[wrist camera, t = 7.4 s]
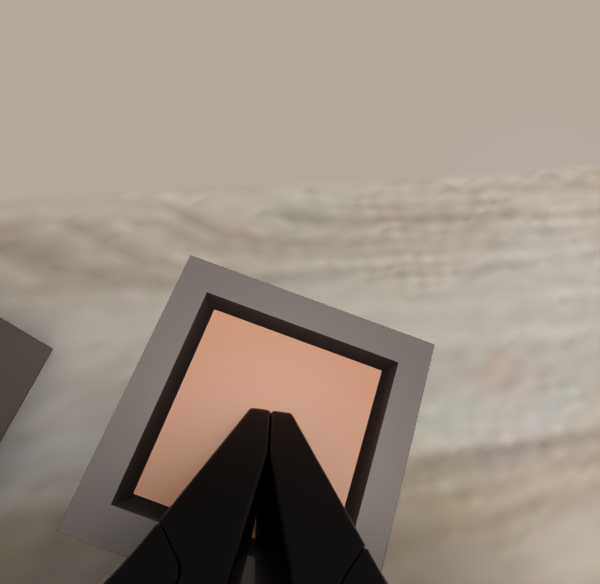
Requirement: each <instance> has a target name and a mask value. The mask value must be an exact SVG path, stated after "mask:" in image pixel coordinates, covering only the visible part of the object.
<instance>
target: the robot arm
mask: <svg viewBox="0 0 600 584" xmlns="http://www.w3.org/2000/svg"><path fill="white" fill-rule="evenodd" d="M255 520H256V525H255ZM254 525H255V584H388V583H387V582H386V580H385V578H384V576H383V575H382V573H381V571H380V570H379V568H378V566H377V565H376V563H375V561H374V559H373V557H372V556H371V554H370V552H369V550H368V549H367V548H365V543H364V542H363V540H362V538H361V536H360V534H359V533H358V531H357V529H356V527H355V526H354V524H353V522H352V520H351V518H350V517H349V515H348V513H347V511H346V509H345V508H344V506H343V504H342V502H341V501H340V499H339V497H338V495H337V493H336V492H335V490H334V488H333V486H332V484H331V483H330V481H329V479H328V477H327V476H326V474H325V472H324V470H323V468H322V467H321V465H320V463H319V461H318V459H317V458H316V456H315V454H314V452H313V451H312V449H311V447H310V445H309V443H308V442H307V440H306V438H305V436H304V435H303V433H302V431H301V429H300V427H299V426H298V424H297V422H296V420H295V418H294V417H293V415H292V414H291V413H287V412H280V411H272V412H271V413H270V411H269V410H265V409H258V408H250V409H249V410H248V411H247V413H246V414H245V415H244V416H243V418H242V419H241V420H240V421H239V422H238V424H237V425H236V426H235V427H234V429H233V430H232V431H231V432H230V434H229V435H228V436H227V437H226V438H225V440H224V441H223V442H222V443H221V445H220V446H219V447H218V448H217V450H216V451H215V452H214V453H213V455H212V456H211V457H210V458H209V459H208V461H207V462H206V463H205V464H204V466H203V467H202V468H201V469H200V471H199V472H198V473H197V474H196V475H195V477H194V478H193V479H192V480H191V482H190V483H189V484H188V485H187V487H186V488H185V489H184V490H183V491H182V493H181V494H180V495H179V496H178V498H177V499H176V500H175V501H174V503H173V504H172V505H171V506H170V508H169V509H168V510H167V511H166V512H165V514H164V515H163V516H162V517H161V519H160V520H159V522H158V524H156V525H155V526H154V527H153V528H152V529H151V531H150V532H149V533H148V534H147V536H146V537H145V538H144V539H143V540H142V542H141V543H140V544H139V545H138V546H137V547H136V549H135V550H134V551H133V552H132V553H131V554H130V555H129V557H128V558H127V559H126V560H125V561H124V562H123V564H122V565H121V566H120V567H119V568H118V569H117V570H116V571H115V572H114V573H113V574H112V575H111V576H110V577H109V578H108V579H107V580H106V581H105V582H104V583H103V584H241V580H242V576H243V572H244V568H245V564H246V560H247V555H248V551H249V547H250V543H251V539H252V534H253V530H254Z"/></svg>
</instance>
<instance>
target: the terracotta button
mask: <svg viewBox="0 0 600 584" xmlns="http://www.w3.org/2000/svg"><path fill="white" fill-rule="evenodd" d="M381 372H382V371H381V370H379V369H376V368H373V367H370V366H368V365H365V364H362V363H359V362H357V361H354V360H351V359H348V358H346V357H343V356H340V355H338V354H335V353H332V352H329V351H327V350H324V349H321V348H318V347H316V346H313V345H310V344H308V343H305V342H302V341H299V340H297V339H294V338H291V337H288V336H286V335H283V334H280V333H278V332H275V331H272V330H269V329H267V328H264V327H261V326H258V325H256V324H253V323H250V322H248V321H245V320H242V319H239V318H237V317H234V316H231V315H228V314H226V313H223V312H220V311H218V310H215V309H214V311H213V313H212V316H211V318H210V320H209V322H208V325H207V327H206V329H205V332H204V334H203V336H202V338H201V341H200V343H199V345H198V348H197V350H196V352H195V354H194V357H193V359H192V361H191V363H190V366H189V368H188V370H187V373H186V375H185V377H184V379H183V382H182V384H181V386H180V388H179V391H178V393H177V395H176V398H175V400H174V402H173V404H172V407H171V409H170V411H169V414H168V416H167V418H166V420H165V423H164V425H163V427H162V429H161V432H160V434H159V436H158V439H157V441H156V443H155V445H154V448H153V450H152V452H151V455H150V457H149V459H148V461H147V464H146V466H145V468H144V470H143V473H142V475H141V477H140V480H139V482H138V484H137V486H136V489H135V491H134V493H133V494H136V495H138V496H141V497H144V498H146V499H149V500H152V501H155V502H157V503H160V504H163V505H165V506H168V507H170V506H171V505H172V504H173V503H174V501H175V500H176V499H177V498H178V496H179V495H180V494H181V493H182V491H183V490H184V489H185V488H186V487H187V485H188V484H189V483H190V482H191V480H192V479H193V478H194V477H195V475H196V474H197V473H198V472H199V471H200V469H201V468H202V467H203V466H204V464H205V463H206V462H207V461H208V459H209V458H210V457H211V456H212V455H213V453H214V452H215V451H216V450H217V448H218V447H219V446H220V445H221V443H222V442H223V441H224V440H225V438H226V437H227V436H228V435H229V434H230V432H231V431H232V430H233V429H234V427H235V426H236V425H237V424H238V422H239V421H240V420H241V419H242V418H243V416H244V415H245V414H246V413H247V411H248V410H249V409H250V408H258V409H265V410H269V411H270V413H271V412H272V411H280V412H287V413H291V414H292V415H293V417H294V418H295V420H296V422H297V424H298V426H299V427H300V429H301V431H302V433H303V435H304V436H305V438H306V440H307V442H308V443H309V445H310V447H311V449H312V451H313V452H314V454H315V456H316V458H317V459H318V461H319V463H320V465H321V467H322V468H323V470H324V472H325V474H326V476H327V477H328V479H329V481H330V483H331V484H332V486H333V488H334V490H335V492H336V493H337V495H338V497H339V499H340V501H341V502H342V504H343V506H344V507H345V503H346V500H347V496H348V492H349V489H350V485H351V481H352V478H353V474H354V470H355V467H356V463H357V459H358V456H359V452H360V448H361V445H362V441H363V438H364V434H365V430H366V427H367V423H368V419H369V416H370V412H371V408H372V405H373V401H374V397H375V394H376V390H377V386H378V383H379V379H380V376H381ZM255 525H256V520H255ZM255 525H254V530H253V534H252V538H255Z"/></svg>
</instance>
